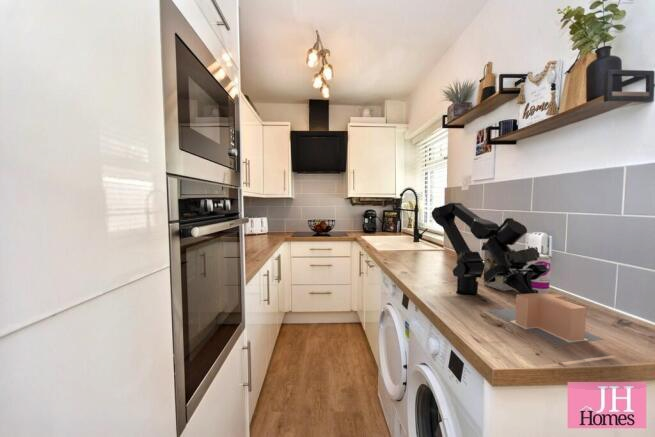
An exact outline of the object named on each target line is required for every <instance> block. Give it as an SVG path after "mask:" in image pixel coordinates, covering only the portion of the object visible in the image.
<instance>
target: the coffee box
mask: <svg viewBox="0 0 655 437" xmlns="http://www.w3.org/2000/svg"><path fill="white" fill-rule="evenodd" d="M510 249H511V250H512V251H516V249H512V248H510ZM483 257H484V258H483V260H484V261H483V263H484V266H485V267H484V271H483V274H484V273H485V272H486V271H487V270H488V269H489V268H490V267H491V266H498V264H493V262H492V261H494V258H493V257H492V255H491V254H490V252H489V250H484V256H483ZM495 278H496V280H495V282H492V283H487V282H486V280H485V279H484V278H483V285H484V286H486V287H490V288H493V289H497V290H500V291H503V292H504V291H510V290H514V289H513V288H512V287H510V286H508V285H507V284H504V283H503V282H504V281H505V279H504V278H505V277H504V276H501V277H495Z"/></svg>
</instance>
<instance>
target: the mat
mask: <svg viewBox="0 0 655 437" xmlns="http://www.w3.org/2000/svg"><path fill="white" fill-rule="evenodd" d="M485 311H486V312H487V313H489V314H492V315H494V316H496V317H497V318H500V319H501V320H504V321H506V322H508V323H510V324H512V325H514V326H517V328H520V329H522V330H525V331H526V332H529V333H530V334H532V335H535V336H536V337H539V338H540V339H542V340H545V341H546V342H549V343H551V344H553V345H555V346H562V345H569V344H577V343H578V344H579V343H585V342H586V343H587V342H595V341H601V340H604V341H605V338H602V337H601V336H598V335H596V334H595V335H594V334H592V333H590V332H587V331H585V338H584V340H577V341H568V340H566V339H564V338H562V337H559V336H557V335H555V334H553V333H551V332H548V331H546V330H544V329H542V328H540V327H532V328H526V327H524V326H522V325H520V324H517V323H515V318H516V307H515V308H503V309H501V308H499V309H490V310H489V309H488V310H485Z"/></svg>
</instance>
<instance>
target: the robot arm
mask: <svg viewBox="0 0 655 437" xmlns="http://www.w3.org/2000/svg"><path fill="white" fill-rule="evenodd" d="M431 217H432V220H434V222H435V223H436V225H437V224H438V225H439V226H440V227H441V228H442V229H443V230H444V232H445V234H446V236H447V238H448V240H449V242H450V243H451V246H452V248H453V249H454V252H455V253H456V256H457V257H456V266H454V268H453V269H452V274H453V276H454V277H456V278H457V282H456V284H457V285H456V291H455V293H456V294H460V295H466V296H473V297H474V296H476V295H477V294H479V281H478V280H477V278H478V279H479V278H480V279H481V278H482V276H483V280H484V279H485V280H486V282H487V283H492V282H495V280H496V278H495V277H501V276H504V277H505V278H504V279H505V281H504V282H503V283H504V284H507V285H508V286H510V287H512V288H513V289H512V290H515V291H517V292H518V293H520V294H531V293H534V292H533V288H532V284H531V280H536V279H538V278H539V277H540V276H542V275H543V274H544V273H546V272H547V271H548V269H547V267H546V266H545V265H544V264H531V265H530V266H528V267H527V268H526V269H523V267H524V266H526V265H528V264H527V262H530V261H536V260H538V259H537V258H539V256H540V255H539V254H541V253H540V252H539V251H538V249H537V248H535V247H529V248H526V249H520V250H515V251H512V250H511V249H512V248H510V246H513V245H515V244H516V243H517V242H518V241H520V240H521V239H522V238H523V237H524V236H525V234H527V233H528V229H527V227H526V226H525V225H524V224H522V223H521V222H519V221H517V220H514V218H513V217H508V218H505V219H504V220H503V222H502V223H501V225H500V226H499V224H498V223H496V222H494V221H491V220H489V219H485V218H482V217H480V216H478V214H476V213H474V212H473V211H472V210H470V209H469V208H468V207H465V205H464V204H462V203H461V202H449V203H447V204H445V205H441V206H437V207H434V209H433V210H431ZM456 217H457V218H458V219H459V220H460V221H462V223H464V224H465V225H467V226H468V227H469V229H470V232H471V234H472V235H473V236H474V237H475V238H476V239H477V240H486V242H482V246H481V251H485V250H489V252H490V254H491V255H492V257H493V258H494V261H492V262H493V264H498V266H491V267H490V268H489V269H488V270H487V271H486V272H485V273H484V267H485V266H484V258H482V256H481V254H480V253H479V252H478V251H472V250H471V249H470V248H469V246H468V244H467V242H466V240H465V239H464V237H463V235H462V233H461V231H460V230H459V228H458V226H457V224H456V222H455V220H456Z"/></svg>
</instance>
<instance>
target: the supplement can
mask: <svg viewBox="0 0 655 437" xmlns="http://www.w3.org/2000/svg"><path fill="white" fill-rule="evenodd" d="M539 255H540V256H539V258H537V259H538V260H536V261H530V262H527V264H528V265H526V266H524V267H523V269H526V268H527V267H528V266H530V265H531V264H544V265H545V266H546V267H547V269H548V271H547V272H546V273H544V274H543V275H542V276H540V277H539V278H538V279H536V280H531V284H532V288H533V292H534V293H545V292H550V279H551V260H552V259H551V258H550V256H549V255H548V254H544V253H540V254H539Z"/></svg>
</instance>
